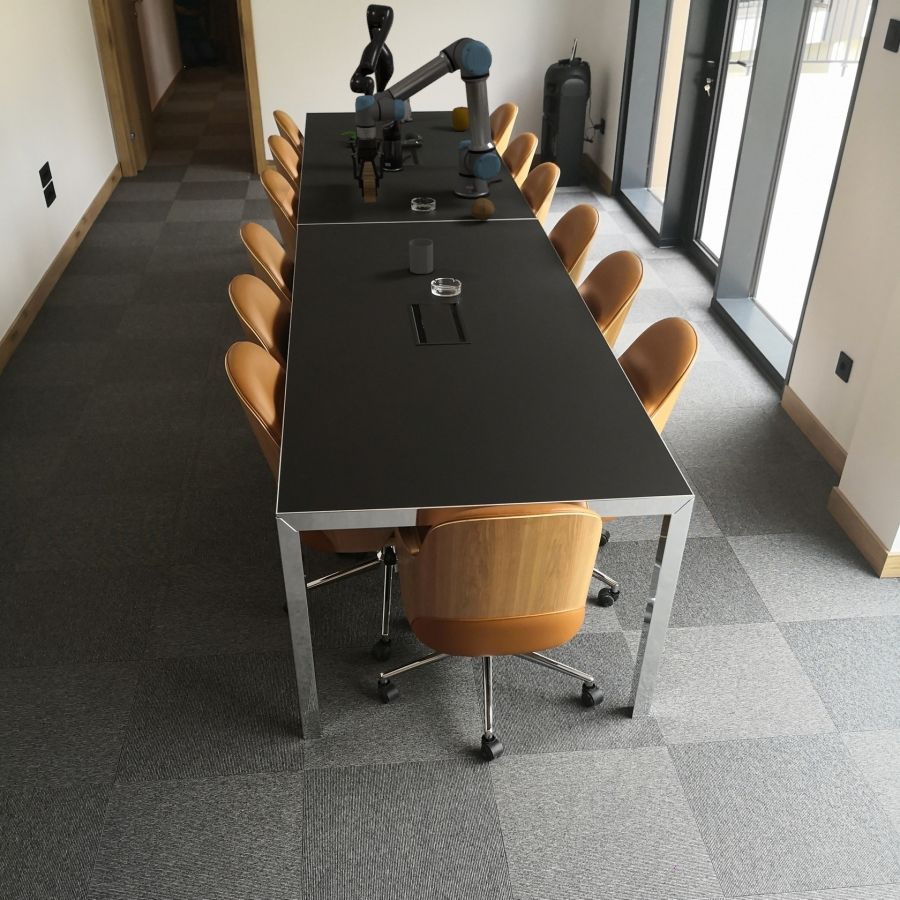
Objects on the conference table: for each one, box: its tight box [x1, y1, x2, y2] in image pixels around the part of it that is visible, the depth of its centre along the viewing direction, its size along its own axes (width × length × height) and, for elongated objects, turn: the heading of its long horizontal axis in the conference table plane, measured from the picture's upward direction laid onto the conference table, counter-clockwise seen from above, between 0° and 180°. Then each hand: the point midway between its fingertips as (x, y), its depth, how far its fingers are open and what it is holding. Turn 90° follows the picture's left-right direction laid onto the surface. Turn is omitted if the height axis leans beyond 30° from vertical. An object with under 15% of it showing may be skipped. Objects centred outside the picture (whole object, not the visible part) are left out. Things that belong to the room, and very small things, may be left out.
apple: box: [451, 105, 469, 132], centre depth 487 cm, size 11×11×13 cm
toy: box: [389, 97, 413, 124], centre depth 503 cm, size 9×24×15 cm, turn 137°
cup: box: [408, 237, 434, 275], centre depth 305 cm, size 8×8×10 cm
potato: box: [470, 197, 495, 221], centre depth 354 cm, size 10×14×8 cm
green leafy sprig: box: [339, 131, 382, 148], centre depth 462 cm, size 6×13×30 cm
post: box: [362, 161, 377, 204], centre depth 372 cm, size 52×5×9 cm, turn 7°
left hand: (366, 164), depth 388 cm, fingers closed on post, 4 cm apart
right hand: (369, 195), depth 359 cm, fingers closed on post, 5 cm apart
